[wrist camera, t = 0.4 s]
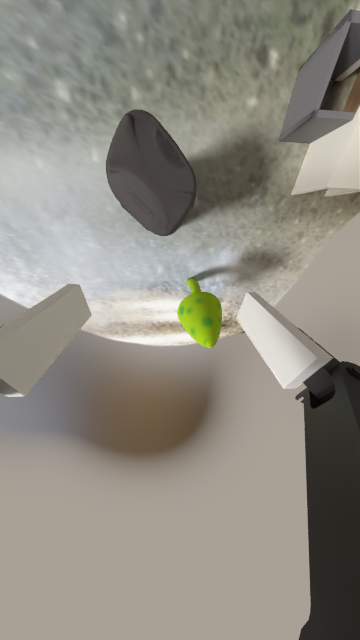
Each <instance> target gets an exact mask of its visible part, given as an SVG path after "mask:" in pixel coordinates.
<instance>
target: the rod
mask: <svg viewBox="0 0 360 640" xmlns="http://www.w3.org/2000/svg"><path fill="white" fill-rule="evenodd" d="M359 106H360V70H359V73H358V75H357V78H356V80H355V83H354V85H353V88H352V90H351V93H350V95H349V97H348V100H347V102H346V105H345V107H344V110H343V112H354V113H356V112H357V110H358V108H359Z"/></svg>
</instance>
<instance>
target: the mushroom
mask: <svg viewBox="0 0 360 640" xmlns="http://www.w3.org/2000/svg"><path fill="white" fill-rule="evenodd" d="M186 283H187V284H188V285H189V286H190V288H191V293H192V294H191V295H189V296H187V297H186V298H185V299H184V300H183V301H182V302H181V303H180V305H179V308H178V318H179V320H180V322H181V324H182V325H183V327H184V328H185V329H186V331H187V332H188V333H189V334H190V336H191V337H192V338H193V339H194V340H196V341H197V342H198V343H199V344H201V345H202V346H204V347H207V348H212V347H213V346H214V345H215V344H216V342H217V340H218V338H219V335H220V330H221V323H222V309H221V304H220V301H219V300H218V298H217V297H216V296H214V295H213V294H211V293H208V292H201V290H200V286H199V284H198V282H197V281H196V280H195V279H187V281H186Z"/></svg>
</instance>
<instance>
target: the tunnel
mask: <svg viewBox="0 0 360 640" xmlns="http://www.w3.org/2000/svg"><path fill="white" fill-rule="evenodd" d="M358 67H360V11H357V10H350V11H349V12H348V13H347V14H346V16H345V17H344V18H343V19H342V20H341V21H340V23H339V24H338V25H337V26H336V27H335V28H334V30H333V31H332V32H331V33H330V34H329V35H328V37H327V38H326V39H325V40H324V41H323V42H322V44H321V45H320V46H319V47H318V48H317V49H316V51H315V52H314V53H313V54H312V55H311V56H310V58H309V59H308V60H307V61H306V62H305V63H304V65H303V66H302V67H301V68H300V69H299V73H298V76H297V80H296V83H295V86H294V90H293V93H292V97H291V100H290V104H289V107H288V111H287V114H286V117H285V121H284V124H283V128H282V131H281V135H280V138H279V141H282V142H297V143H310V146H309V148H308V151H307V154H306V156H305V159H304V161H303V164H302V167H301V169H300V172H299V175H298V177H297V180H296V182H295V185H294V188H293V190H292V193H291V195H299V194H304V193H309V192H314V191H319V190H324V189H328V190H327V192H326V194H325V196H328V197H330V196H336V195H343V194H350V193H356V192H360V106H359V108H358V110H357V112H356V113H354V112H342V111H330V110H324V108H325V105H326V103H327V100H328V97H329V95H330V92H331V89H332V87H333V84H334V82H335V81H342V80H344V79H345V78H346V77H347V76H349V75H350V74H351V73H352V72H354V71H355V70H356V69H357V68H358Z"/></svg>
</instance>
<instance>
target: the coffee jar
mask: <svg viewBox="0 0 360 640" xmlns="http://www.w3.org/2000/svg"><path fill="white" fill-rule="evenodd" d="M106 174H107V179H108V183H109V185H110V188H111V190H112V192H113V194H114V195H115V197H116V198H117V200H118V201H119V202H120V204H121V206H122V207H123V208H124V209H125V210H126V211H127V212H129V213H130V214H131V215H132V216H133V217H134V218H135V219H136V220H137V221H138V222H139V223H140V224H141V225H142V226H144V227H145V228H146V229H147V230H149V231H151V232H153V233H154V234H157V235H160V236H168V235H171V234H173V233H174V232H175V231H177V230H178V229H179V227H180V226H181V225H182V224H183V222H184V221H185V220H186V218H187V217H188V215H189V213H190V212H191V210H192V208H193V205H194V201H195V196H196V180H195V175H194V172H193V170H192V168H191V166H190V164H189V162H188V161H187V159H186V158H185V156H184V154H183V153H182V151H181V150H180V148H179V147H178V145H177V144H176V143H175V141H174V140H173V139H172V137H171V136H170V135H169V134H168V132H167V131H166V130H165V129H164V127H163V126H162V125H161V124H160V122H159V121H158V120H157V119H156V118H155V117H154V116H153V115H151V114H150V113H148V112H146V111H143V110H132V111H130V112H128V113H126V114H125V115H124V116H123V118H122V120H121V121H120V123H119V125H118V128H117V130H116V132H115V134H114V137H113V139H112V142H111V145H110V148H109V152H108V155H107V160H106Z"/></svg>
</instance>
